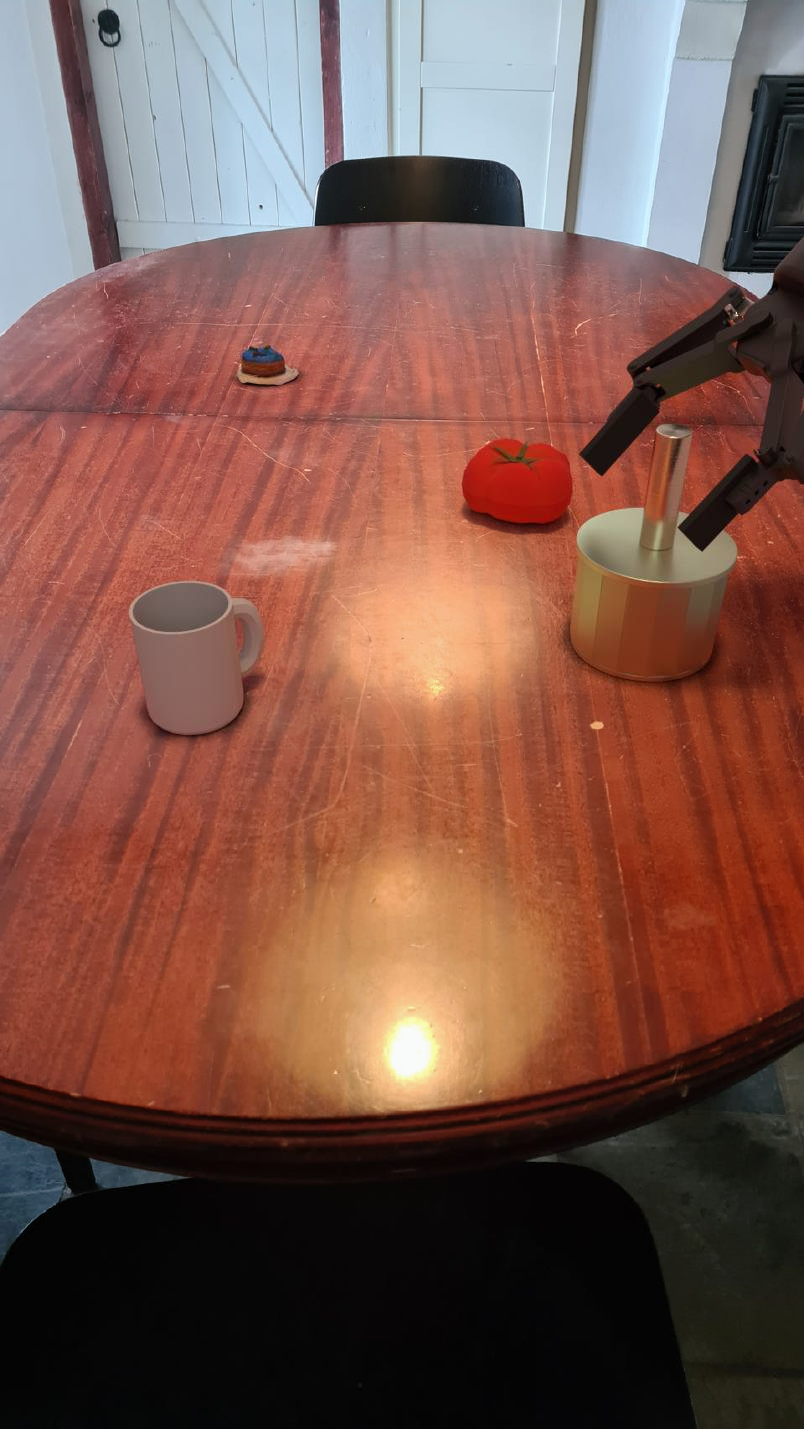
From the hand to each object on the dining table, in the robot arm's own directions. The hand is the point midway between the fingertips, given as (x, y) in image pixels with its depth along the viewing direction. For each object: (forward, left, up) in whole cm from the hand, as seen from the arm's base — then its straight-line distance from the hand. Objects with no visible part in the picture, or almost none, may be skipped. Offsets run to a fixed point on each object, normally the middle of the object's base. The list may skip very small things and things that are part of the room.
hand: (636, 500), depth 76 cm
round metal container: (+2, -2, -13) cm, 13 cm away
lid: (+2, -2, -5) cm, 5 cm away
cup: (-16, +28, -13) cm, 35 cm away
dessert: (+51, +53, -13) cm, 75 cm away
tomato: (+22, +13, -13) cm, 29 cm away
